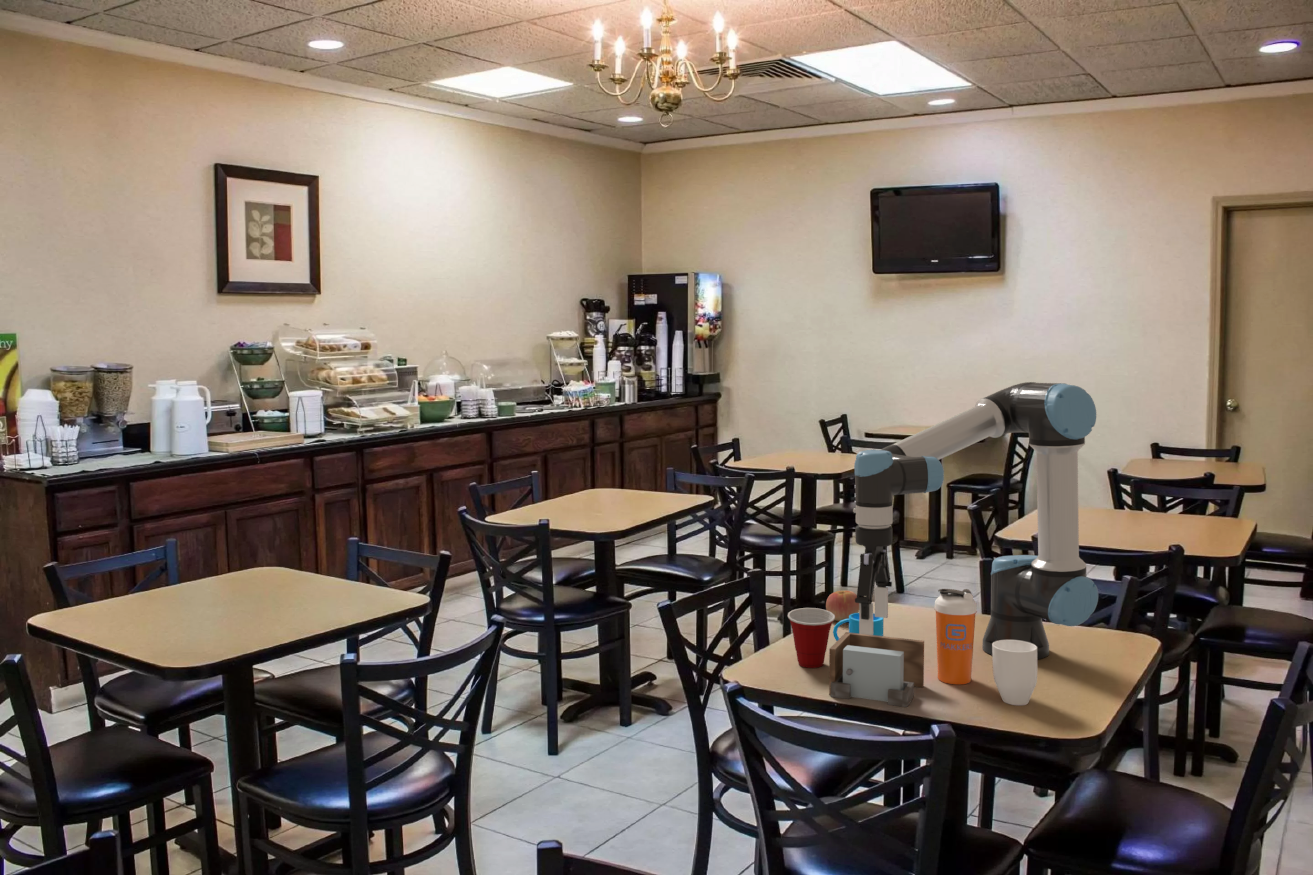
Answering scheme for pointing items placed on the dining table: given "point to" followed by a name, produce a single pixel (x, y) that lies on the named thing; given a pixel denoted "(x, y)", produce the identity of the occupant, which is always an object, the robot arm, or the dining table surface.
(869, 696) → the door
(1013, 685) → the mug
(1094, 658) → the dining table surface
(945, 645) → the shaker bottle
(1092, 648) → the dining table surface
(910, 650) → the cabinet
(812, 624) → the plastic cup
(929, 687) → the dining table surface
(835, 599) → the apple
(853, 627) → the mug
